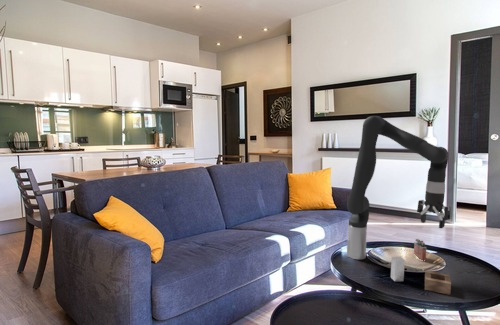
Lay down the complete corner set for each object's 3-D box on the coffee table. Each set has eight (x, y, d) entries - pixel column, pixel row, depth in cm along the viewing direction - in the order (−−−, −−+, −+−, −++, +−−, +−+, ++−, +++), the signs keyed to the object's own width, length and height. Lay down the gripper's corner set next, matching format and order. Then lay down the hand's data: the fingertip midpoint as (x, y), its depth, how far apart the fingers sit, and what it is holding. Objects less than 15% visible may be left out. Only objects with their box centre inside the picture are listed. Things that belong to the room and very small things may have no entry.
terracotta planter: (427, 261, 168) (428, 243, 166) (421, 262, 167) (422, 243, 166) (417, 255, 176) (418, 237, 174) (411, 255, 175) (412, 237, 174)
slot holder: (424, 290, 140) (425, 279, 139) (424, 280, 148) (425, 270, 148) (450, 295, 136) (451, 284, 135) (448, 285, 144) (449, 274, 143)
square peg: (394, 281, 147) (395, 260, 146) (390, 277, 151) (391, 256, 150) (403, 281, 147) (404, 260, 146) (399, 277, 151) (400, 256, 150)
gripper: (415, 188, 152) (412, 221, 154) (445, 195, 140) (442, 231, 142) (425, 187, 156) (422, 219, 158) (456, 193, 143) (452, 228, 145)
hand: (432, 225), depth 150 cm, fingers open, 8 cm apart
